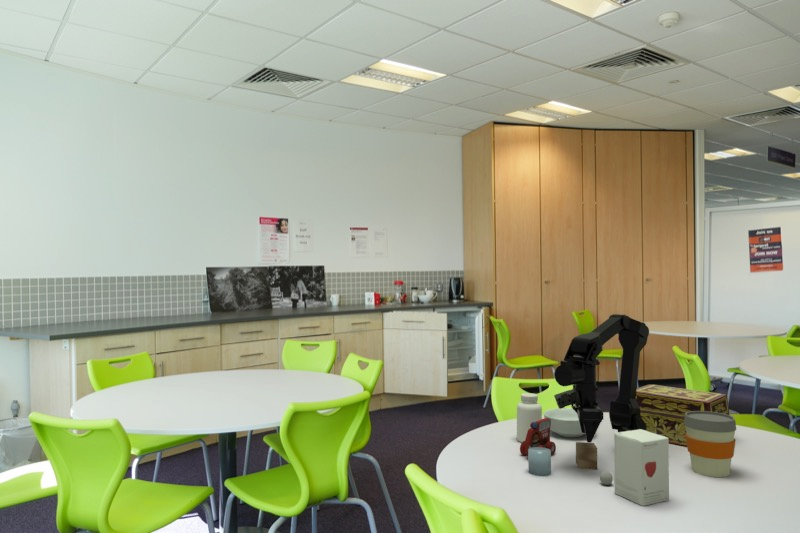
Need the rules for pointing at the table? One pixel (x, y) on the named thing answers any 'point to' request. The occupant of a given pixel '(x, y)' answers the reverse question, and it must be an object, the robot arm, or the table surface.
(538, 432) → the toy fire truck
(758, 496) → the table surface
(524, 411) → the pill bottle
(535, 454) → the blue domed cylinder
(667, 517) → the table surface
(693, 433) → the reusable coffee cup
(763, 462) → the table surface
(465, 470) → the table surface
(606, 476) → the grey ball
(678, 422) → the decorative box
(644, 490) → the supplement box
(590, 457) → the walnut block
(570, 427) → the cereal bowl
